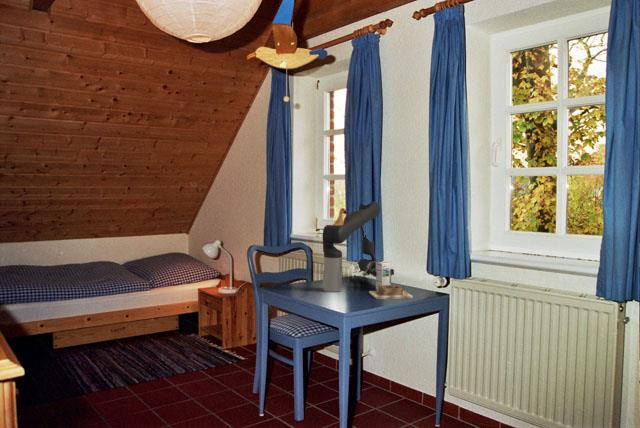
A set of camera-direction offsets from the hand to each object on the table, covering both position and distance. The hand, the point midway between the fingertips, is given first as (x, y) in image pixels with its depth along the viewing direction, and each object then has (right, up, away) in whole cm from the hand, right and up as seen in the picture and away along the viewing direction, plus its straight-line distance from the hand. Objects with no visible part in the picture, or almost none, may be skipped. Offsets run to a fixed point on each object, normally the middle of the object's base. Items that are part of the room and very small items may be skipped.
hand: (383, 273), depth 277 cm
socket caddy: (+2, -9, -12) cm, 16 cm away
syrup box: (0, -9, 0) cm, 9 cm away
